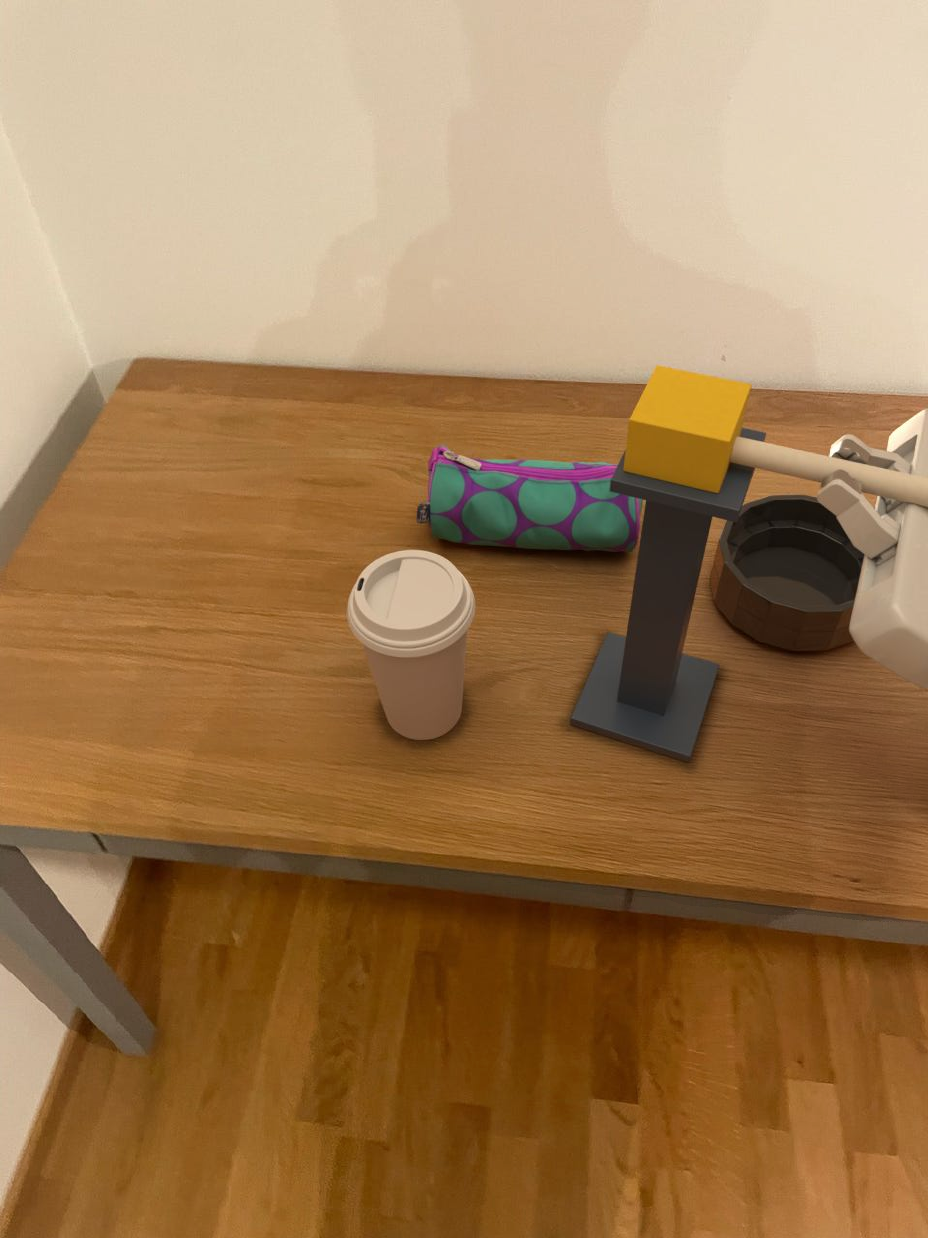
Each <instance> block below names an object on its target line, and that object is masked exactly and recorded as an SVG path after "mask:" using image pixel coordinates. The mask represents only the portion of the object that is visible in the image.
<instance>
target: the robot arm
mask: <svg viewBox="0 0 928 1238" xmlns="http://www.w3.org/2000/svg"><path fill="white" fill-rule="evenodd" d="M828 456H829V457H834V458H838V459H843V460H847V461H852V462H857V463H861V464H866V465H870V466H875V467H879V468H884V469H889V470H893V471H898V472H902V473H907V474H911V475H916V476H921V477H925V478H928V407H927V408H926V407H925V408H924V409H922V410H921V411H919V412H917V414H914V415H913V416H912V417H911V418H909V419H908V420H907V421H905V422H904V423H903V424H901V425H900V426H898V428H896V429H895V430H894V431H892V433H891V434H890V435H889V437H888V440H887V446H886V450H884V449H879V448H875V447H870V446H868V445H867V444H866V443H865V442H864V441H862V440H861V439H859V438H858V437H857V436H855V435H854V434H851V433H847V434H846V433H845V434H844V435H843V436H841V437H840V438H839V439H837V440H836V441H835V442H833V443H832V444H831V445H830V449H829V453H828ZM862 486H863V484H861V483H860V482H859V481H858V480H856V479H855V478H852V477H851V476H850V475H849V473H847V472H846V471H844V470H835V471H834V472H832V473H831V474H830V475H829V476H828V477H826V478H824V479H823V480H822V482H821V483H820V486H819V488H818V492H817V496H816V497H817V500H818V502H819V503H820V504H822V505H823V506H824V507H825V508H827V509H828V510H829V511H831V512H832V513H833V514H835V515H836V516H837V517H836V518H837V519H838V521H839V523H840V524H841V526H842V528H843V529H844V531H845V533H846V534H847V536H848V538H849V539H850V541H851V542H852V544H853V546H854V547H856V548H857V549H858V550H860V551H861V552H862V553H863V554H864V559H863V564H862V568H861V573H860V578H859V582H858V587H857V592H856V597H855V601H854V606H853V611H852V615H851V620H850V625H849V632H850V634H851V636H852V638H853V641H854V643H855V645H856V647H857V649H859V651H860V652H861V653H863V654H864V656H867V657H868V658H869V659H871V660H872V661H873V662H875V663H876V664H878V665H880V666H881V667H883V668H885V669H886V670H888V671H889V672H891V673H893V674H894V675H896V676H898V677H900V678H902V679H903V680H905V681H907V682H908V683H910V684H912V685H914V686H915V687H918V688H920V689H923V690H924V691H927V692H928V507H925V506H921V505H917V504H913V503H908V502H903V501H899V500H894V499H890V498H886V497H881V496H877V495H876V498H875V503H874V506H873V505H872V504H871V503H870V502H869V500H868V499H867V498H866V496H865V495H864V494H863V493H862V492H861V491H862Z"/></svg>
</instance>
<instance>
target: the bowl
mask: <svg viewBox="0 0 928 1238" xmlns="http://www.w3.org/2000/svg"><path fill="white" fill-rule="evenodd" d="M836 517H837V516H836V515H835V514H833V513H832V512H831V511H829V510H828V509H827V508H825V507H824V506H823V505H822V504H820V503H819V502H818V500H817V496H812V495H809V494H804V493H803V494H798V493H797V494H770V495H767V496H764V497H761V498H757V499H755V500H752V501H748V502H744V503H743V505H742V508H741V511H740V514H739V517H738V520H737V522H732V521H728V520H725V521H724V524H723V527H722V529H721V533H720V535H719V537H718V542H717V546H716V550H715V554H714V558H713V562H712V567H711V570H710V575H709V585H710V589H711V593H712V598H713V602H714V604H715V605H716V606H717V608H718V609H719V610H720V611H721V613H722V614H723V615H724V616H725V618H726V619H727V620H728V622H729V623H730V624H731V625H732V626H734V628H737V629H738V630H740V631H741V632H743V633H745V634H747V635H748V636H749V637H751V638H753V639H754V640H755V641H757V642H759V643H762V644H765V645H770V646H773V647H776V648H780V649H784V650H788V651H790V652H821V651H822V652H825V651H829V650H832V649H834V648H837V647H840V646H843V645H845V644H849V643H851V642H853V641H854V640H853V638H852V636H851V634H850V632H849V625H850V620H851V615H852V611H853V606H854V601H855V597H856V592H857V587H858V582H859V578H860V573H861V568H862V564H863V559H864V554H863V553H862V552H861V551H860V550H858V549H857V548H856V547H854V546H853V544H852V542H851V541H850V539H849V538H848V536H847V534H846V533H845V531H844V529H843V528H842V526H841V524H840V523H839V521H838V519H837V518H836Z"/></svg>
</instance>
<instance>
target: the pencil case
mask: <svg viewBox="0 0 928 1238" xmlns="http://www.w3.org/2000/svg"><path fill="white" fill-rule="evenodd" d="M617 466H618V464H613V463H609V462H606V461H605V462H603V461H595V462H594V461H593V462H585V461H574V462H566V461H565V462H564V461H555V460H554V461H553V460H541V459H539V460H537V459H514V460H513V459H496V458H489V459H483V458H482V459H481V458H473V457H469V456H464V455H461V454H456V453H454V452H453V451H451V450H450V449H449V448H448V447H447V446H446V445H444V444H442V445H439V446H436V447H434V448H433V449H432V451H431V455H430V457H429V459H428V461H427V471H428V485H427V501H423V502H421V503H420V504H419V505H417V507H416V508H417V509H416V523H417V524H418V525H419V524H421V525H424V524H425V525H427V524H428V527H429V530H430V532H431V535H432V536H433V538H435V539H439V540H446V541H448V542H451V543H456V544H457V543H458V544H464V545H471V546H492V547H503V548H504V547H505V548H507V547H508V548H517V549H527V550H528V549H529V550H547V551H548V550H557V551H579V550H582V551H585V552H591V551H603V552H604V551H605V552H614V553H615V552H616V553H617V552H626V553H632V552H633V551H634V550H635V549H636V547H637V546H638V543H639V542H638V541H639V537H640V535H639V534H640V529H641V514H642V510H643V503H644V500H643V499H638V498H634V497H630V496H626V495H622V494H618V493H614V492H610V491H609V490H610V480H611V478H612V476H613V474H614V472H615V470H616V468H617ZM424 507H425V508H424Z"/></svg>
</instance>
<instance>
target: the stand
mask: <svg viewBox="0 0 928 1238" xmlns="http://www.w3.org/2000/svg"><path fill="white" fill-rule="evenodd" d="M740 437H742V438H747V439H751V440H756V441H761V442H766V437H767V432H765V431H762V430H761V431H760V430H756V429H752V428H747V427H743V426H742V430H741V434H740ZM625 451H626V448H625V450H624V452H623V453H622V455H621V457H620V459H619V461H618V463H617V465H618V466H617V468H616V470H615V472H614V474H613V476H612V478H611V480H610V490H609V491H610V492H614V493H618V494H622V495H626V496H630V497H634V498H638V499H643V501H645V504H644V511H643V518H642V524H641V525H642V526H641V531H640V539H639V547H638V551H637V552H638V553H637V559H636V566H635V573H634V580H633V586H632V593H631V601H630V607H629V615H628V622H627V629H626V636H623V635H620V634H616V633H613V632H610V631H607V632H606V634H605V637H604V639H603V641H602V644H601V646H600V648H599V651H598V653H597V655H596V657H595V660H594V662H593V664H592V667H591V669H590V672H589V674H588V676H587V679H586V681H585V683H584V685H583V688H582V690H581V692H580V695H579V697H578V700H577V702H576V704H575V707H574V709H573V712H572V714H571V716H570V723H569V725H571V726H573V727H577V728H580V729H582V730H586V731H589V732H592V733H594V734H598V735H601V736H605V737H608V738H609V739H610V738H611V739H613V740H617V741H620V742H623V743H626V744H629V745H631V746H635V747H638V748H642V749H644V750H647V751H651V752H654V753H657V754H660V755H663V756H666V757H669V758H672V759H675V760H678V761H681V762H684V763H687V764H689V763H690V761H691V758H692V755H693V751H694V749H695V746H696V743H697V738H698V736H699V733H700V729H701V727H702V724H703V720H704V717H705V714H706V710H707V707H708V705H709V701H710V698H711V694H712V692H713V689H714V685H715V682H716V679H717V676H718V673H719V669H720V663H716V662H713V661H710V660H706V659H703V658H699V657H696V656H693V655H688V654H685V653H683V651H684V647H685V644H686V638H687V633H688V630H689V626H690V625H689V624H690V620H691V615H692V611H693V606H694V602H695V597H696V593H697V588H698V584H699V579H700V575H701V570H702V566H703V562H704V557H705V552H706V548H707V543H708V539H709V535H710V530H711V525H712V521H713V518H716V519H720V520H725V521H726V520H728V521H732V522H737V520H738V517H739V514H740V511H741V508H742V505H743V504H744V503H745V499H746V496H747V493H748V491H749V488H750V485H751V482H752V479H753V477H754V474H755V470H756V468H754V467H749V466H745V465H740V464H736V463H732V462H730V464H729V467H728V469H727V472H726V475H725V477H724V480H723V483H722V486H721V488H720V491H719V493H713V492H709V491H705V490H701V489H697V488H692V487H688V486H684V485H680V484H676V483H671V482H667V481H663V480H659V479H655V478H650V477H646V476H642V475H638V474H634V473H629V472H625V471H624V470H623V469H624V460H625Z"/></svg>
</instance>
